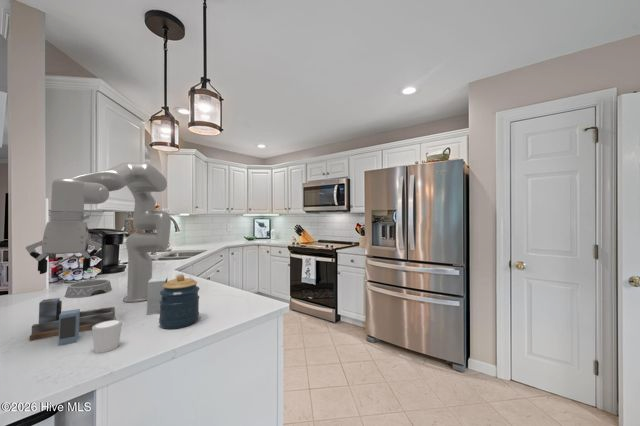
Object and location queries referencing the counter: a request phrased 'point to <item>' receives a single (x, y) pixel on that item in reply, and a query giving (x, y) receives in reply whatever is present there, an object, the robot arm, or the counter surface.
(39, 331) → the rail
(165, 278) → the small box
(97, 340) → the white cup
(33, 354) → the counter surface
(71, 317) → the blue-grey block
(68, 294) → the dog bowl
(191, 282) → the canister
